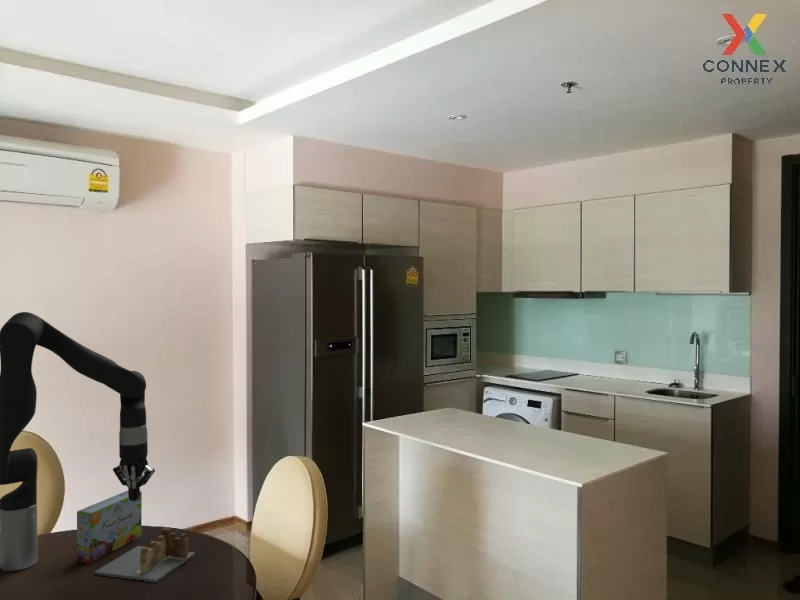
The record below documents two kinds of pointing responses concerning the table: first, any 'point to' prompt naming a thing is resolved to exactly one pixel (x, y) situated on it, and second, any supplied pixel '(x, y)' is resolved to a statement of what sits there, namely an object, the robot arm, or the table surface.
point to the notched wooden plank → (176, 544)
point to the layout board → (130, 566)
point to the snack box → (107, 526)
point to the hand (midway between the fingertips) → (134, 500)
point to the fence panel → (152, 554)
